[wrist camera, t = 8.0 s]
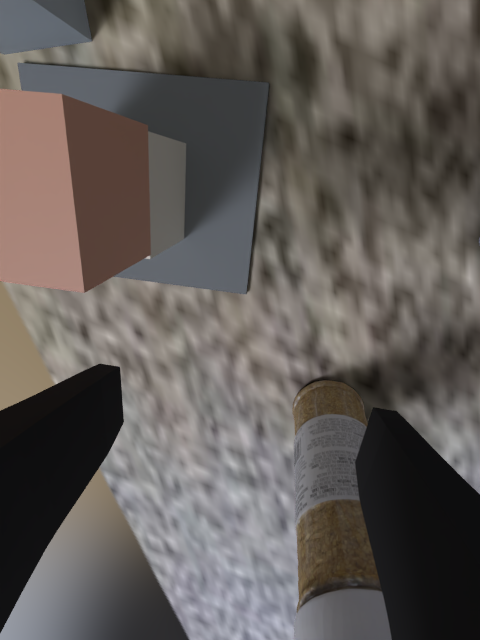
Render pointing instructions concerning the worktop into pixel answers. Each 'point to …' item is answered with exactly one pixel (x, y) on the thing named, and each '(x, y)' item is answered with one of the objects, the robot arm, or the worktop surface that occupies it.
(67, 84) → the mat
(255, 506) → the worktop surface
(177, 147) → the cream brick
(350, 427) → the sprinkles bottle
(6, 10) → the slate brick
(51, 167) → the terracotta brick
